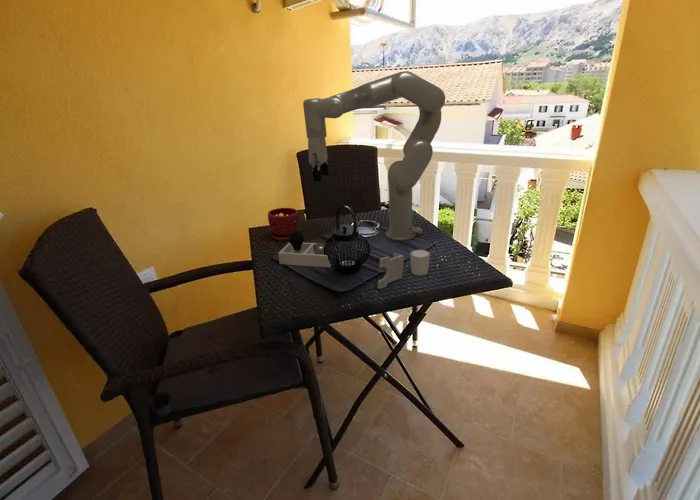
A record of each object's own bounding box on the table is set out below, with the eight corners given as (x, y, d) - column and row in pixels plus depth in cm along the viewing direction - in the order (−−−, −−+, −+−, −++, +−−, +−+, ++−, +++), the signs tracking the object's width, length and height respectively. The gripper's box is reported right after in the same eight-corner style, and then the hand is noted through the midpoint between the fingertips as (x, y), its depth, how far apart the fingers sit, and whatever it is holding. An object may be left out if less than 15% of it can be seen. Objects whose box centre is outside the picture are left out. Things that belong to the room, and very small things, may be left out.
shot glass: (406, 269, 131) (406, 251, 128) (423, 265, 133) (423, 247, 130) (415, 278, 125) (416, 259, 122) (433, 273, 127) (434, 255, 124)
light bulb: (294, 252, 147) (291, 228, 143) (308, 252, 146) (305, 228, 142) (288, 258, 142) (285, 233, 138) (302, 259, 141) (299, 234, 137)
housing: (338, 255, 145) (337, 240, 143) (330, 267, 136) (328, 252, 133) (291, 252, 151) (289, 238, 148) (279, 263, 141) (277, 249, 138)
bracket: (391, 276, 129) (394, 249, 126) (401, 280, 126) (404, 252, 123) (369, 284, 122) (371, 255, 119) (379, 289, 119) (381, 259, 116)
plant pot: (280, 245, 158) (276, 218, 153) (265, 237, 167) (261, 211, 163) (306, 236, 165) (303, 210, 161) (290, 229, 175) (287, 205, 170)
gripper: (314, 131, 150) (318, 173, 157) (299, 137, 135) (305, 183, 142) (332, 130, 149) (336, 172, 156) (319, 136, 133) (324, 183, 140)
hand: (321, 178), depth 149 cm, fingers open, 9 cm apart
